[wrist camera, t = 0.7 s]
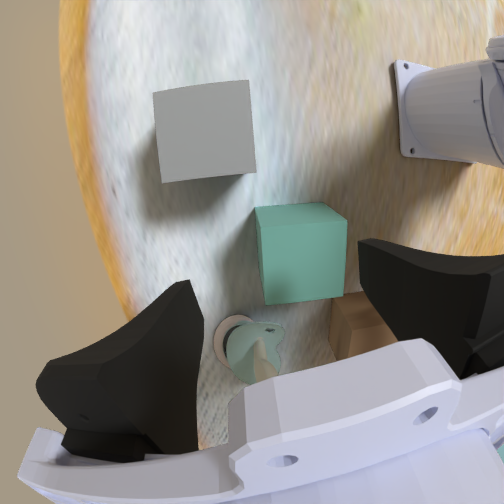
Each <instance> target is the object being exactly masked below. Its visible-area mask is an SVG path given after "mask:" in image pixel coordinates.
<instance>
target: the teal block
mask: <svg viewBox="0 0 504 504" xmlns="http://www.w3.org/2000/svg"><path fill="white" fill-rule="evenodd" d="M255 220H256V233H257V246H258V260H259V272H260V277H261V283H262V288H263V294H264V299H265V304H266V306H267V305H276V304H286V303H294V302H303V301H311V300H319V299H327V298H334V297H341V296H343V290H344V278H345V263H346V245H347V220H346V219H345V218H343V217H342V216H341V215H339V214H338V213H337V212H335V211H334V210H333V209H331V208H330V207H329V206H327V205H326V204H324V203H323V202H320V203H304V204H289V205H276V206H263V207H255Z"/></svg>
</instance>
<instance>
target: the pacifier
mask: <svg viewBox="0 0 504 504" xmlns="http://www.w3.org/2000/svg"><path fill="white" fill-rule="evenodd" d="M239 325H241V326H239ZM234 326H239V327H237V328H236V329H234V330H233V331H232V333H231V334H230V336H229V338H228V341H227V347H226V352H225V350H224V346H223V340H224V336H225V335H226V333H227V331H229V330H230V329H231V328H232V327H234ZM268 328H272V329H275V330H274V331H271V332H268V331H266V329H268ZM284 335H285V331H284V329H283V327H282V326H281V325H280V324H278V323H275V322H264V321H263V322H254V321H253V320H252V319H250V318H248V317H246V316H244V315H232V316H230V317H228V318H226V319H225V320H223V321H222V322H221V323H220V324H219V326H218V328H217V329H216V332H215V335H214V349H215V353H216V355H217V357H218V359H219V360H220V361H221V363H222V364H224V365H225V366H226V367H228V368H231V370H232V371H233V373H234V374H235V376H237V377H238V378H239V379H240V380H241V381H243V382H245V383H247V384H250V385H252V384H255V383H258V382H261V381H263V380H266V379H268V378H271V377H274V376H278V373H279V370H280V366H281V360H280V356H279V354H278V352H277V351H276V349H275V348H276V346H277V345H278V344H279V343H280V342H281V341H282V339H283V338H284Z"/></svg>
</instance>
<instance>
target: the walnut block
mask: <svg viewBox="0 0 504 504" xmlns="http://www.w3.org/2000/svg"><path fill="white" fill-rule="evenodd" d="M328 341H329V343H330V345H331V348H332V350H333V352H334V355H335V357H336V359H337V361H340V360H343V359H347V358H350V357H353V356H357V355H360V354H363V353H366V352H369V351H372V350H375V349H378V348H381V347H384V346H387V345H390V344H393V343H396V342H398V340H397V339H396V337H395V336H394V334H393V333H392V331H391V330H390V328H389V327H388V326H387V324H386V323H385V322H384V320H383V319H382V317H381V316H380V315H379V313H378V312H377V311H376V309H375V308H374V306H373V305H372V304H371V302H370V301H369V299H368V298H367V296H366V294H365V292H364V291H361V292H354V293H347V294H343V296H341V297H334V298H332V307H331V319H330V330H329V340H328Z"/></svg>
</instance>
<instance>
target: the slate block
mask: <svg viewBox="0 0 504 504" xmlns="http://www.w3.org/2000/svg"><path fill="white" fill-rule="evenodd" d="M153 104H154V117H155V128H156V138H157V148H158V157H159V165H160V173H161V180H162V183H168V182H175V181H182V180H190V179H198V178H206V177H215V176H225V175H235V174H246V173H256V160H255V147H254V135H253V123H252V111H251V99H250V87H249V80H239V81H227V82H217V83H209V84H201V85H194V86H187V87H181V88H175V89H169V90H164V91H159V92H154V93H153Z"/></svg>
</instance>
